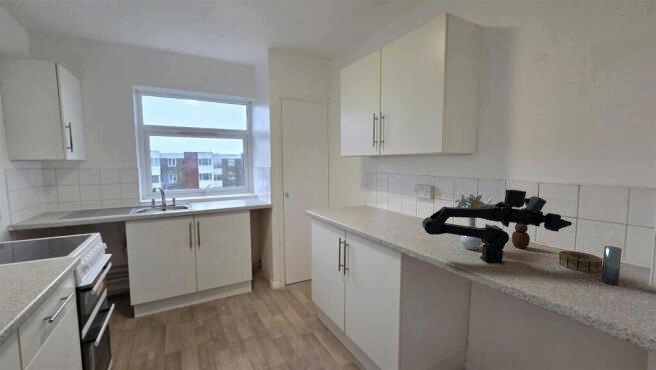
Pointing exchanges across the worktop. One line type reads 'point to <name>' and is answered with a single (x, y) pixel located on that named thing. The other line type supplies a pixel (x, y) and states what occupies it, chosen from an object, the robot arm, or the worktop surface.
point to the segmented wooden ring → (580, 261)
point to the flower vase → (472, 219)
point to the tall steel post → (611, 265)
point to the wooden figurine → (520, 236)
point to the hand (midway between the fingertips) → (562, 221)
